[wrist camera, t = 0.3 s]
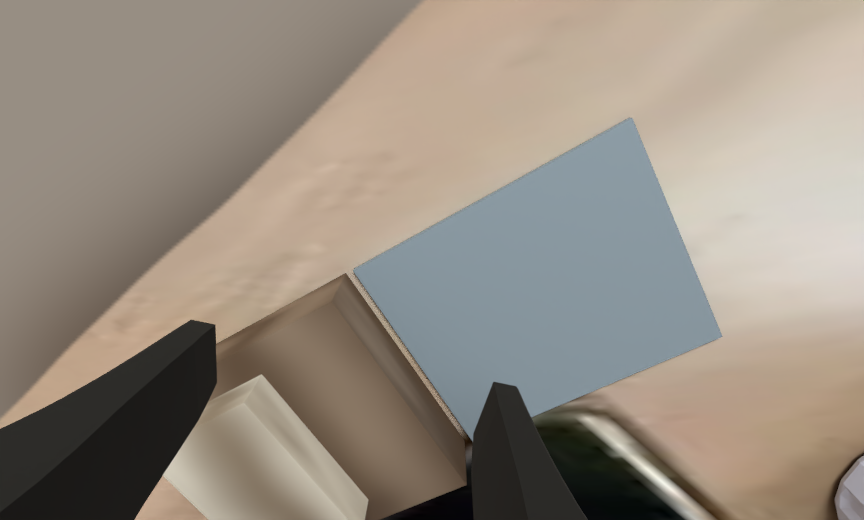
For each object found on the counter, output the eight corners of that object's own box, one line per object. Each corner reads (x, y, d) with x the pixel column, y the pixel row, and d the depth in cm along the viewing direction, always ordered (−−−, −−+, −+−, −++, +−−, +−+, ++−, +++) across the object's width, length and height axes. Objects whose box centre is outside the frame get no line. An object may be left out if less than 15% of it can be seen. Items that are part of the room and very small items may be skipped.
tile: (277, 537, 26) (264, 573, 24) (165, 423, 23) (141, 454, 21) (368, 499, 24) (361, 535, 23) (262, 374, 22) (244, 402, 20)
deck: (295, 512, 29) (279, 559, 26) (164, 372, 25) (129, 409, 23) (464, 441, 27) (466, 484, 24) (345, 273, 23) (331, 301, 20)
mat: (472, 438, 26) (472, 441, 26) (354, 268, 23) (353, 270, 22) (719, 333, 23) (722, 336, 23) (629, 117, 20) (632, 118, 19)
